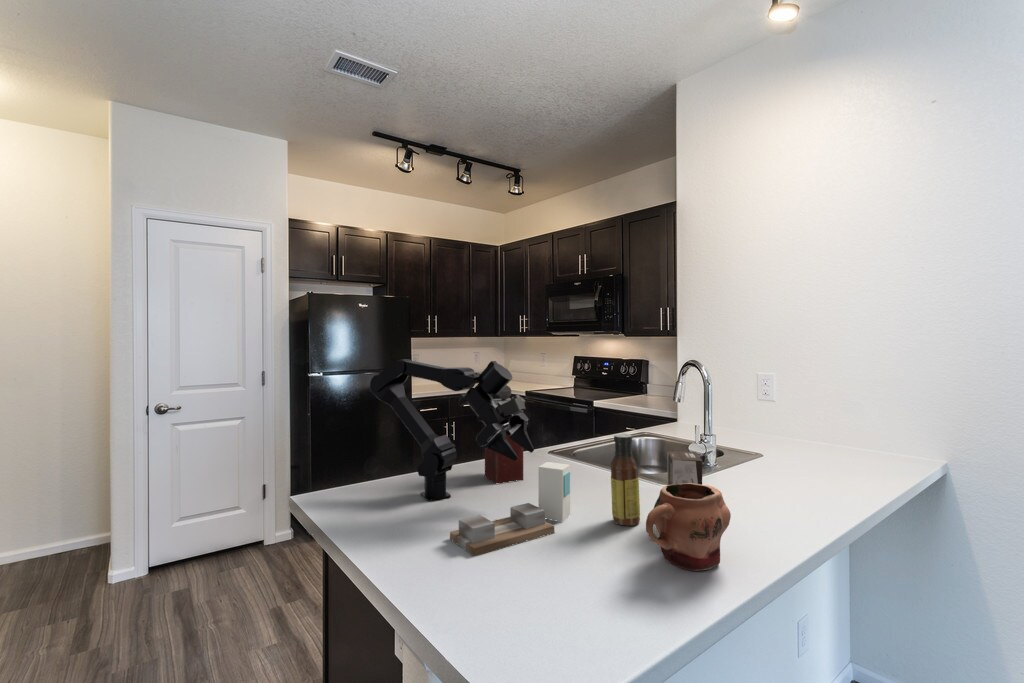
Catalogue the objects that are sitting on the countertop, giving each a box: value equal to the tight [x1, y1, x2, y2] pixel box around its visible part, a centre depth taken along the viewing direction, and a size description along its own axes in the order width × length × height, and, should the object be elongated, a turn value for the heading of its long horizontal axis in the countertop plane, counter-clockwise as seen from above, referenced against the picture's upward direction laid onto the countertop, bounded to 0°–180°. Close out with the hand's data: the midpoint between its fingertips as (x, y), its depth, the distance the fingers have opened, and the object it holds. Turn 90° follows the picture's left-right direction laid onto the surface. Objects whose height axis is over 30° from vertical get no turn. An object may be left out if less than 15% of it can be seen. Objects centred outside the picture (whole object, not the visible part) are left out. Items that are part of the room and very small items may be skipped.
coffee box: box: [666, 450, 703, 485], centre depth 110 cm, size 9×6×16 cm
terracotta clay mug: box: [645, 483, 732, 572], centre depth 92 cm, size 20×12×14 cm, turn 125°
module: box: [538, 461, 571, 522], centre depth 117 cm, size 6×5×12 cm
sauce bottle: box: [610, 433, 641, 527], centre depth 113 cm, size 6×6×20 cm
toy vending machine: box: [484, 384, 524, 484], centre depth 150 cm, size 9×11×28 cm
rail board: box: [449, 502, 555, 557], centre depth 105 cm, size 10×20×4 cm, turn 125°
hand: (525, 455), depth 120 cm, fingers open, 9 cm apart
